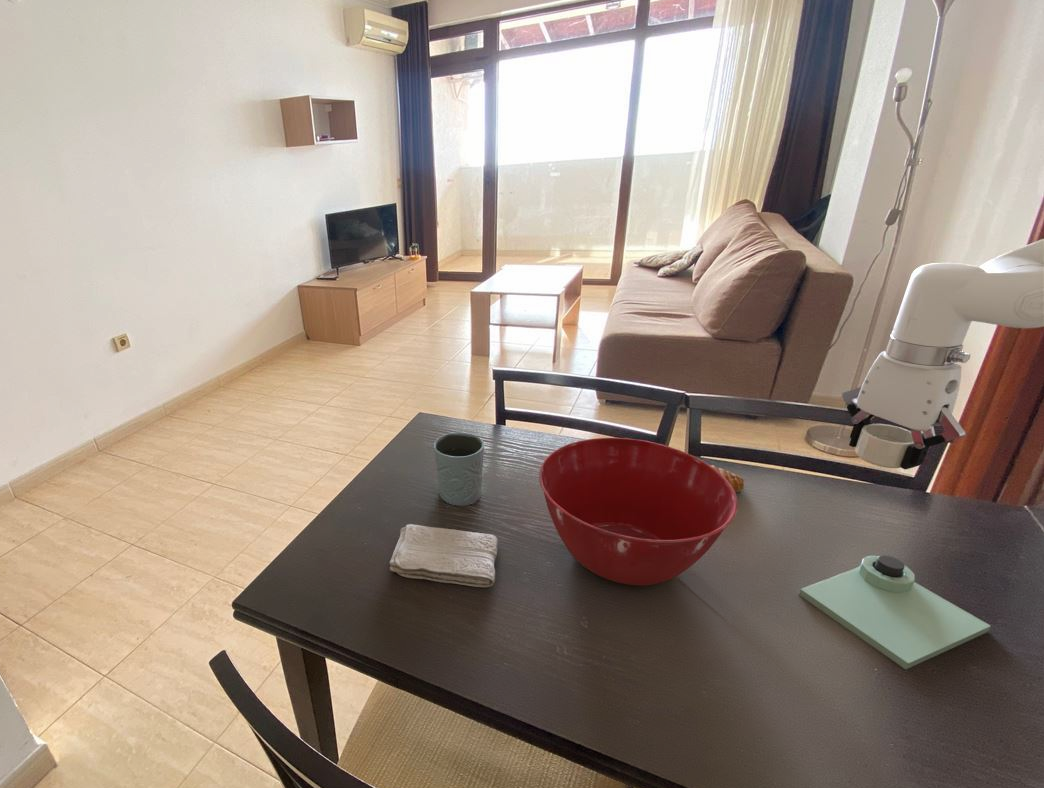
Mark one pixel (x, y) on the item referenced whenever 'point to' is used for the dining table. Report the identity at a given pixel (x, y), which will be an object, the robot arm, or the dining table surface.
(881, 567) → the button
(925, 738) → the dining table surface
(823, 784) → the dining table surface
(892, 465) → the bowl
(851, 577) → the scale
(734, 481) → the pastry
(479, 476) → the grey green cup
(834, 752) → the dining table surface
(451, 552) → the washcloth
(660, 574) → the mixing bowl
